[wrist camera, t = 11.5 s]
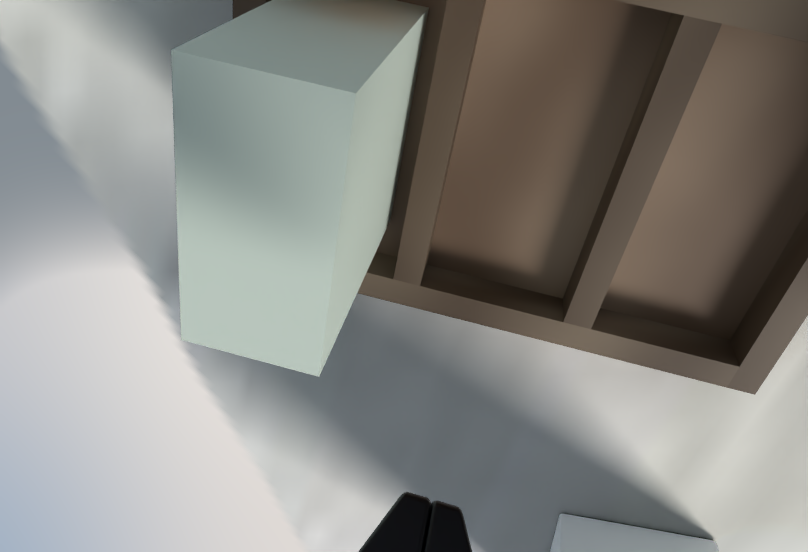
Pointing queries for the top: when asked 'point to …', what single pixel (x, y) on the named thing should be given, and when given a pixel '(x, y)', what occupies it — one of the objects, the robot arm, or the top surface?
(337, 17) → the block
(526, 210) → the rack
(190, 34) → the top surface
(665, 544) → the milk
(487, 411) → the top surface
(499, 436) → the top surface
